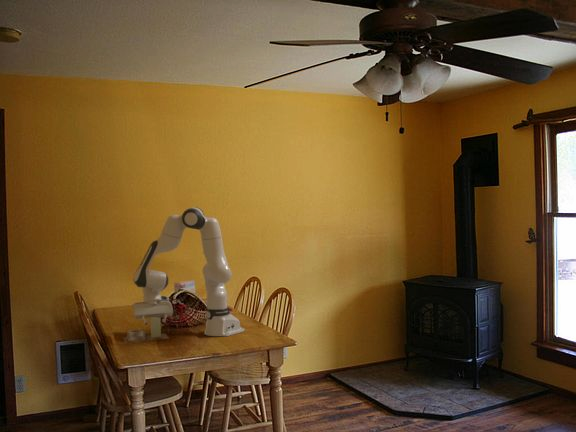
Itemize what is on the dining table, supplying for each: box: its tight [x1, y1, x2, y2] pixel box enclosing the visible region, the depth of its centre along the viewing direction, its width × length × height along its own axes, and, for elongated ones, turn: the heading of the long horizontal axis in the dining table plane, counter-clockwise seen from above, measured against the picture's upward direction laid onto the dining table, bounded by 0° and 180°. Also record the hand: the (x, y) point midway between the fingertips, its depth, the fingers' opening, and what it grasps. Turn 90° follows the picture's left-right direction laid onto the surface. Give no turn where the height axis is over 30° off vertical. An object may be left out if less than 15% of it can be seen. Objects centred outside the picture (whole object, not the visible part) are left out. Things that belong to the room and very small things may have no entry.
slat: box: [149, 317, 162, 338], centre depth 284 cm, size 5×2×10 cm, turn 112°
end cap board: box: [122, 328, 170, 344], centre depth 282 cm, size 22×12×6 cm, turn 112°
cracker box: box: [173, 279, 196, 295], centre depth 349 cm, size 14×6×21 cm, turn 149°
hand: (155, 323), depth 284 cm, fingers open, 8 cm apart
